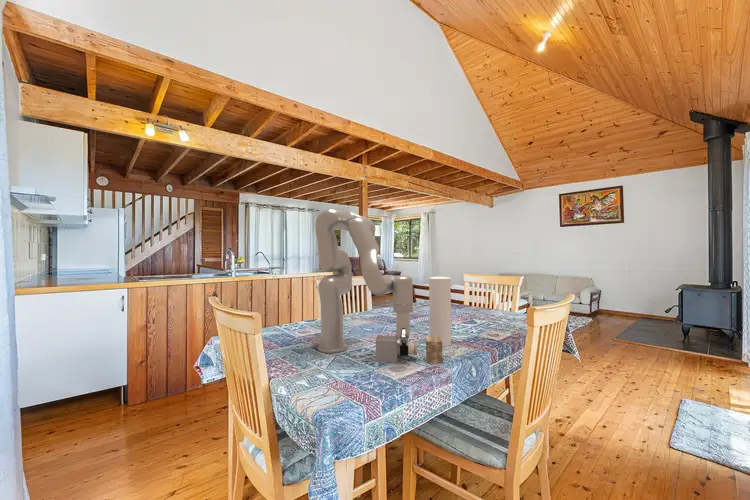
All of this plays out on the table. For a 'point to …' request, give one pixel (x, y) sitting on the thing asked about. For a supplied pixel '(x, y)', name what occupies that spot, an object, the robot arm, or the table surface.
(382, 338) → the grey block
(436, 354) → the socket
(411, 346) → the tube
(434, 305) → the cylinder container
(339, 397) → the table surface
